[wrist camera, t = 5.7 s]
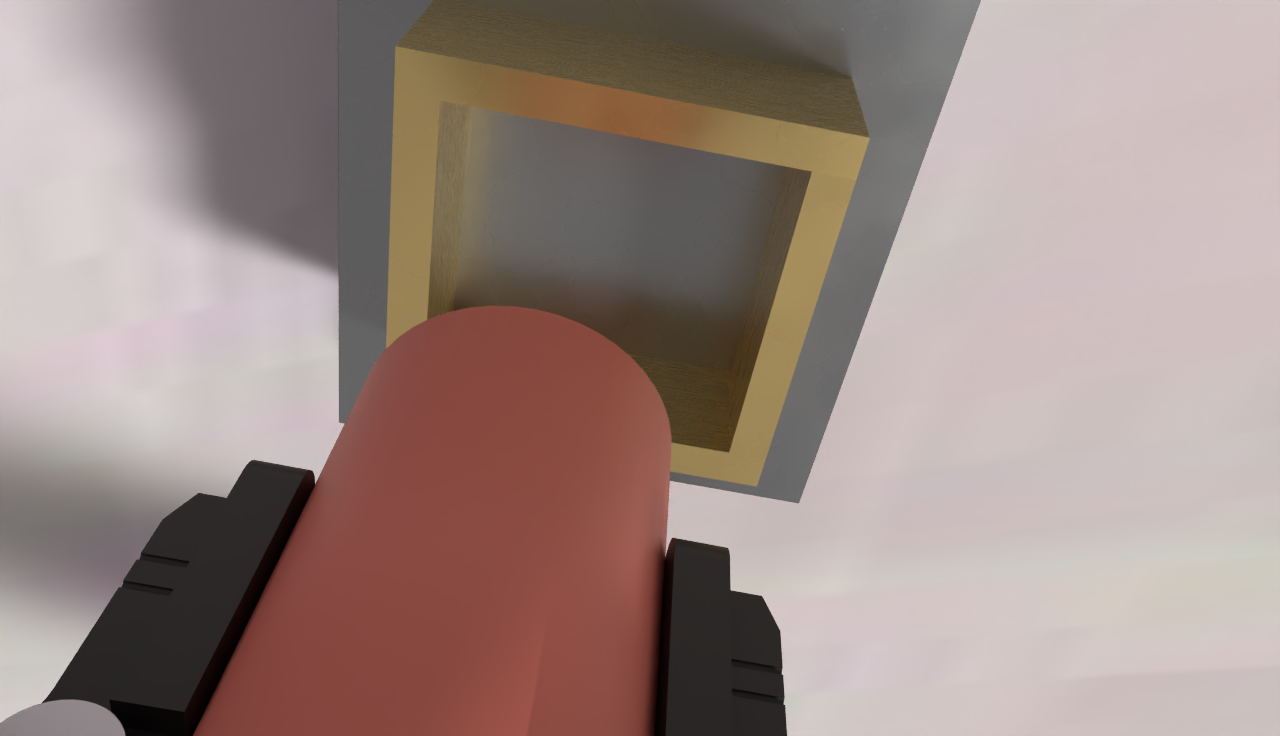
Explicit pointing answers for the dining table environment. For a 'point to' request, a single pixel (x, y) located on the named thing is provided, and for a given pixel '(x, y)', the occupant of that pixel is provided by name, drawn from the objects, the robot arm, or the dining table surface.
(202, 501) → the robot arm
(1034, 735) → the dining table surface
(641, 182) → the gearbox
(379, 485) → the oil can
